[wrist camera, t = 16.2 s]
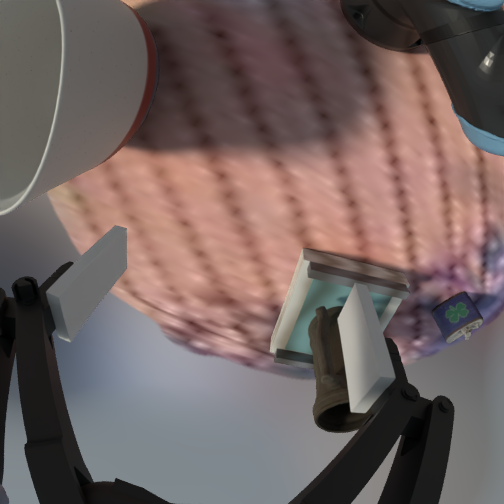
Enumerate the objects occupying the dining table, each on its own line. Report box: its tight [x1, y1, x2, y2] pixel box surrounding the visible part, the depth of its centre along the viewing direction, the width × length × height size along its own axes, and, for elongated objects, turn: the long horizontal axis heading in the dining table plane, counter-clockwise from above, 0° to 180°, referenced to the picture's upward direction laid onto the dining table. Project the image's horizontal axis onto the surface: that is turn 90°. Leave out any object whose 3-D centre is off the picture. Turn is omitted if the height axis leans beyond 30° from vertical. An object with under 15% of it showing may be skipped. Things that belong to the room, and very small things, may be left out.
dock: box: [270, 248, 410, 369], centre depth 53 cm, size 20×22×6 cm
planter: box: [0, 0, 159, 215], centre depth 28 cm, size 27×27×27 cm
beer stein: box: [308, 306, 373, 433], centre depth 44 cm, size 15×11×20 cm
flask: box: [432, 292, 483, 343], centre depth 48 cm, size 9×3×11 cm, turn 125°
